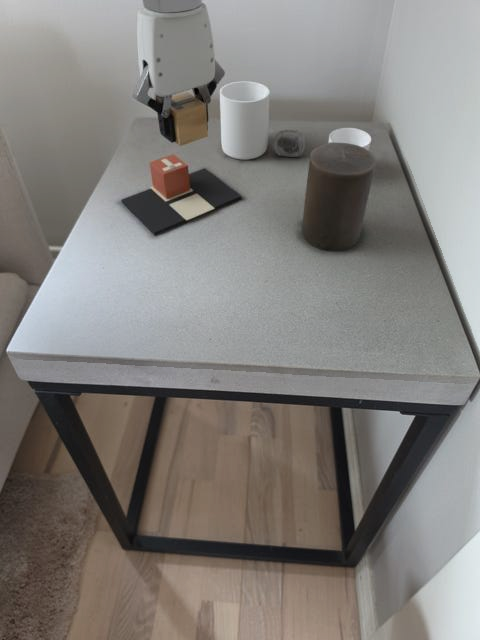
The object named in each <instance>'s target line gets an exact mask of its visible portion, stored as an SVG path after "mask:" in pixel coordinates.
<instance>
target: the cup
mask: <svg viewBox="0 0 480 640" xmlns="http://www.w3.org/2000/svg"><path fill="white" fill-rule="evenodd" d="M330 142H334V143H335V142H337V143H349V144H354V145H358V146H360V147H363V148H365V149H366V150H368V151H370V149H371V146H372V136H371V135H370V134H369V133H368V132H367V131H364V130H363V129H359V128H355V127H341V128H336V129H334V130H332V131H331V132H330V133H329V135H328V141H327V143H330Z"/></svg>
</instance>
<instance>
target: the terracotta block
mask: <svg viewBox="0 0 480 640" xmlns="http://www.w3.org/2000/svg"><path fill="white" fill-rule="evenodd" d="M149 168H150V176H151V183H152V186H153V187H154V188H155V189H156V190H157V191H158V192H159V193H160V194H162V195H163V196H164V197H165V198H166V199H169V198H171V197H174V196H176V195H179V194H182V193H184V192H187V191H189V190H190V182H189V174H190V173H189V165H188V164H187V163H185V162H184V161H183V160H182V159H180V158H179V157H178V156H177V155H175V154H174V153H173V154H170V155H167V156H164V157H160V158H159V159H156V160H153V161H150V162H149Z"/></svg>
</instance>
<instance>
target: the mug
mask: <svg viewBox="0 0 480 640" xmlns="http://www.w3.org/2000/svg"><path fill="white" fill-rule="evenodd" d="M270 93H271V92H270V89H269V88H268V86H267V85H265V84H262V83H259V82H255V81H249V80H245V81H244V80H243V81H234V82H230V83H227V84H225V85H223V86H222V87H221V88H220V90H219V110H220V111H219V112H220V113H219V115H220V139H221V140H220V141H221V143H220V144H221V149H222V151H223V153H224V154H226V156H228V157H230V158H231V159H236V160H243V161H247V160H248V161H249V160H253V159H257V158H259V157H261V156H263V155H264V154H265V153H266V151H267V149H268V142H269V121H270V120H269V119H270Z"/></svg>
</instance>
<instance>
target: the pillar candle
mask: <svg viewBox="0 0 480 640" xmlns="http://www.w3.org/2000/svg"><path fill="white" fill-rule="evenodd" d="M376 164H377V160H376V155H375V154H374V152H372V151H370V150H369V151H368V150H366V149H365V148H363V147H360V146H358V145H354V144H349V143H337V142H335V143H334V142H330V143H328V142H327V143H324V144H321V145H319V146H318V145H317V147H315V148H314V149H312V151H311V152H310V156H309V163H308V169H307V170H308V172H307V179H306V180H307V181H306V187H305V195H304V205H303V213H302V221H301V234H302V238H303V239H304V240H305V241H306V242H307V243H308V244H309V245H311V246H312V247H315V248H317V249H320V250H321V251H327V252H337V251H345V250H348V249H350V248H353V247H354V246H355V245H356V244H357V243H358V242H359V240H360V237H361V234H362V233H361V232H362V228H363V227H362V226H363V223H364V218H365V214H366V210H367V205H368V202H369V196H370V192H371V187H372V182H373V177H374V174H375V167H376Z"/></svg>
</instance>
